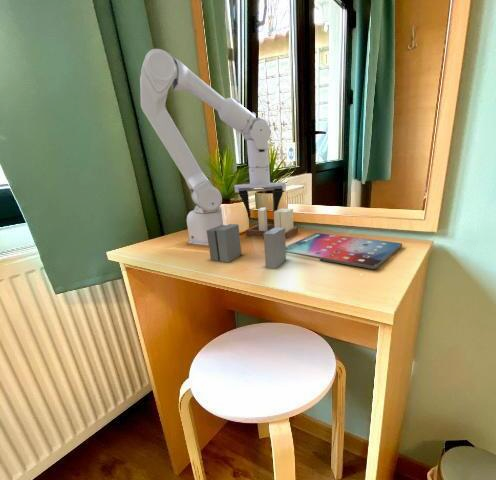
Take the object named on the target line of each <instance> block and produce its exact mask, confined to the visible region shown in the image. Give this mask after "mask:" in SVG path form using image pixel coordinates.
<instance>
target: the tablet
mask: <svg viewBox="0 0 496 480" xmlns="http://www.w3.org/2000/svg"><path fill="white" fill-rule="evenodd" d="M402 247H403V243H401V242H396V241H388V240H379V239H371V238H363V237H355V236H354V237H353V236H346V235H340V234H339V235H338V234H331V233H323V232H322V233H321V232H315V233H313V234H310V235H308V236H306V237H304V238H302V239H299V240H298V241H295V242H293V243H291V244H288V245H286V254H293V255H298V256H304V257H309V258H314V259H319V260H320V261H325V262H331V263H336V264H342V265H348V266H354V267H360V268H363V269H369V270H376V269H378V268H379V267H380V266H382V265H383V264H384V263H385V262H386V261H387V260H388V259H389V258H391V257H392V256H393V255H394V254H395V253H396V252H397V251H398V250H400V249H401V248H402Z"/></svg>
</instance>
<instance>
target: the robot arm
mask: <svg viewBox="0 0 496 480" xmlns="http://www.w3.org/2000/svg"><path fill="white" fill-rule="evenodd" d="M141 66H142V67H141V69H140V76H139V87H140V89H139V91H140V108H141V110H142V112H143V115H145V117H146V118H147V120H148V121H149V123H150V125H151V127H152V128H153V130H154V131H155V133H156V135H157V136H158V138H159V140H160V141H161V143H162V144H163V146H164V147H165V149H166V151H167V153H168V155H169V156H170V158H171V159H172V160H173V162H174V164H175V165H176V167H177V168H178V170H179V173H180V174H181V175H182V177H183V179H184V180H185V183H186V185H187V187H188V189H189V190H190V196H191V200H192V202H193V203H194V204H195V207H194V209H193V210H191V211H189V212H188V214H187V215H186V226H187V233H188V239H189V241H188V244H195V245H205V246H209V244H208V237H207V230H209V229H212V228H214V227H217V226H220V225H224V218H223V211H222V210H223V209H222V207H221V205H222V202H223V196H222V193H221V192H220V190H219V189H218V188H216V187H215V186H213V184H212V183H211V181H210V180H209V178H208V177H207V176H206V175H205V174H204V172H203V170H202V169H201V167H200V166H199V164H198V161H197V160H196V158H195V156H194V155H193V153H192V152H191V150H190V148H189V147H188V145H187V143H186V141H185V140H184V137H183V136H182V134H181V132H180V130H179V129H178V127H177V126H176V124H175V121H174V120H173V118H172V117H171V115H170V113H169V112H168V110H167V108H166V104H167V103H166V102H167V98H168V94H169V89H170V87H172V86H173V87H172V90H173V91H174V92H175V91H176V92H188V93H190V94H191V95H193V96H194V97H196V98H197V99H199V100H201V101H202V102H203V103H205V104H206V105H208V106H209V107H211V108H213V109H214V110H215V111H217V113H218V116H219V120H220V121H222V122H224V124H226V125H227V126H229V127H231V128H232V129H233V130H234V131H236V132H238V133H239V134H241V135H242V137H243V139H244V140H245V141H246V148H247V162H248V165H247V166H248V173H249V175H248V176H249V183H242V184H234V193H238V195H239V198H240V199H241V201H242V202H243V205H244V207H245V210H246V213H247V218H248V219H250V218H251V217H252V216H251V210H250V199H249V192H263V191H265V192H266V191H271V192H272V193H271V194H272V204H273V205H272V207H273V208H272V213H273V215H274V211H276V210H279V205H280V202H281V199H282V196H283V194H284V191H287V183H286V182H285V181H282V182H281V181H280V182H279V181H277V182H276V181H275V182H271V175H270V173H271V172H270V157H269V139H270V137H271V135H272V129H271V128H270V125H269V124H268V122H267V121H266V120H265V119H264V118H261V117H260V118H259V117H256V116H257V113H256V112H254V111H252V112H251V111H250V110H249V109H247V108H246V107H244V105H242V104H241V100H240V99H239V98H233V97H226V98H225V97H223V95H220V93H219V92H217V91H216V90H215V89H214V88H212V87H211V86H210V85H209V84H207V83H206V82H205V81H204V80H202V79H201V78H200V77H199V76H198V75H197V74H195V73H194V72H193V71H192V70H191V69H189V67H187V65H185V64H184V63H183V62H182V61H181V60H180V59H177V58H176V57H172V55H171V54H170V53H169V52H167V51H166V50H164V49H162V48H152V49H150V50H149V51H148V52H146V55H145V56H144V59H143V61H142V65H141Z"/></svg>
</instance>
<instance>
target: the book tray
mask: <svg viewBox="0 0 496 480" xmlns="http://www.w3.org/2000/svg"><path fill="white" fill-rule="evenodd" d="M293 227H294V228H293V229H291V230H289V231H288V232H286V233H285V240H287V239H289V238H291V237H292V236H293V235H295V234H297V233H298V232H299V226H296V225H295V226H294V225H293ZM273 228H275V226H274V224H267V229H268V230H267V231H269V230H271V229H273ZM267 231H259V223H258V224H256V225H254V226H252V227H250V228H247V229H245V236H251V237H263V238H264V233H265V232H267Z"/></svg>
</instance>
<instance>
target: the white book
mask: <svg viewBox="0 0 496 480" xmlns="http://www.w3.org/2000/svg"><path fill="white" fill-rule="evenodd" d="M257 217H258V218H257V219H258V220H257V221H258V224H259V231H267V230H268V229H267V225H268V216H267V207H260V208H259V209H257Z"/></svg>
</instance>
